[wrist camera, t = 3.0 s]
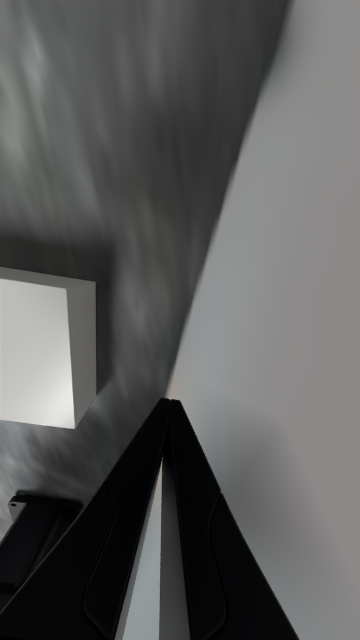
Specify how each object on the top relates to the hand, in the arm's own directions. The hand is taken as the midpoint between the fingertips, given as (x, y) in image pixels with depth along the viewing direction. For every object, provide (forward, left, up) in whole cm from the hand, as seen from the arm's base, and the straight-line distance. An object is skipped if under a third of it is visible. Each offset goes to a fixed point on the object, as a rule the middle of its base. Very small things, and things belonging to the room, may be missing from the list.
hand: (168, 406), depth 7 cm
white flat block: (0, +10, -4) cm, 11 cm away
